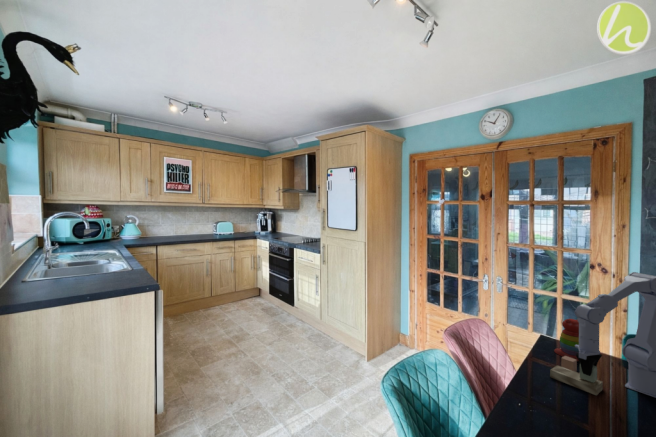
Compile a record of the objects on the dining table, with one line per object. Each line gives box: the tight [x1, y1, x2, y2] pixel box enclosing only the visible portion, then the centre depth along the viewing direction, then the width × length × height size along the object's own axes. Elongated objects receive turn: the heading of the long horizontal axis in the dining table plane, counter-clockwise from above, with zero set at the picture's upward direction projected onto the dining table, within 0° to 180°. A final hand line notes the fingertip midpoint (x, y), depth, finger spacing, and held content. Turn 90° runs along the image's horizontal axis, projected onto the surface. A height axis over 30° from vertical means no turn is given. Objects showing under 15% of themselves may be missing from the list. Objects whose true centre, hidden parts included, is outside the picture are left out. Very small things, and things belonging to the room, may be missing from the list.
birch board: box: [549, 365, 604, 396], centre depth 109 cm, size 14×7×3 cm, turn 32°
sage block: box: [579, 364, 598, 383], centre depth 106 cm, size 4×4×5 cm
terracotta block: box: [560, 356, 578, 372], centre depth 118 cm, size 4×4×5 cm
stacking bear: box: [553, 318, 579, 362], centre depth 131 cm, size 11×10×18 cm
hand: (588, 372), depth 105 cm, fingers closed on sage block, 4 cm apart
